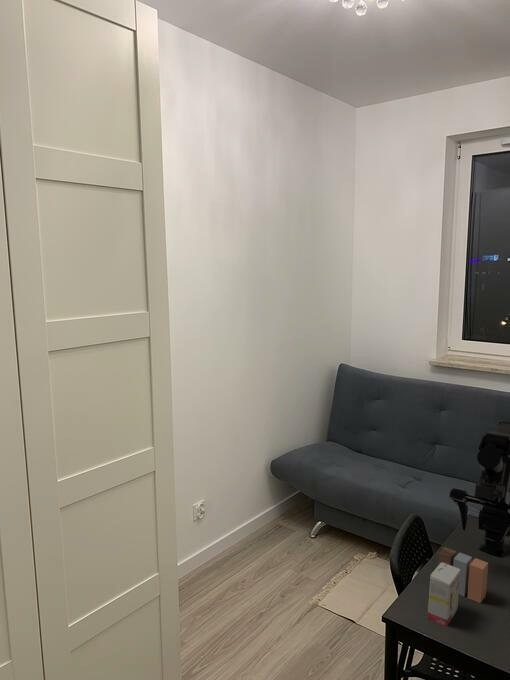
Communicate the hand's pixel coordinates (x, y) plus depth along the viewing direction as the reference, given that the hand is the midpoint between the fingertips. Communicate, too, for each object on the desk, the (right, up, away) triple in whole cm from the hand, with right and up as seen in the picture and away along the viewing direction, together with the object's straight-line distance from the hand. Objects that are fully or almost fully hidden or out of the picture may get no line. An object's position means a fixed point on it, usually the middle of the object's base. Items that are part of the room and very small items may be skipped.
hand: (482, 535), depth 136 cm
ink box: (-15, -16, -12) cm, 25 cm away
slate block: (-7, -13, -3) cm, 15 cm away
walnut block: (-10, -13, -1) cm, 16 cm away
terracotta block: (-4, -13, -6) cm, 15 cm away
